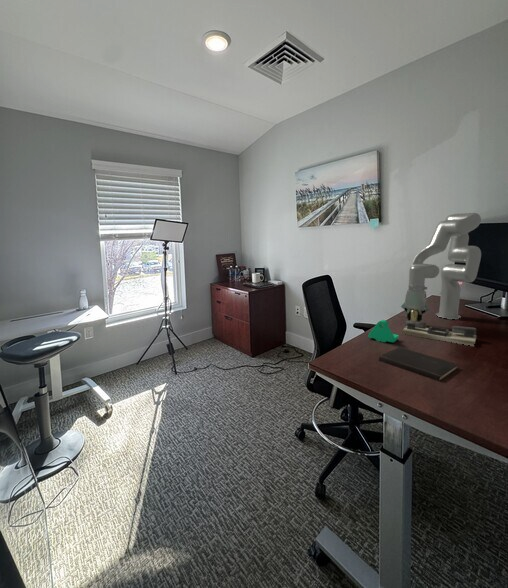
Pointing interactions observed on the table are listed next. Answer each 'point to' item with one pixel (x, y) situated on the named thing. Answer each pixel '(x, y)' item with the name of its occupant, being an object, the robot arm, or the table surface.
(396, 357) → the hardcover book
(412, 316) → the yellow round-topped cylinder
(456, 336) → the stand
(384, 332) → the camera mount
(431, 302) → the table surface
